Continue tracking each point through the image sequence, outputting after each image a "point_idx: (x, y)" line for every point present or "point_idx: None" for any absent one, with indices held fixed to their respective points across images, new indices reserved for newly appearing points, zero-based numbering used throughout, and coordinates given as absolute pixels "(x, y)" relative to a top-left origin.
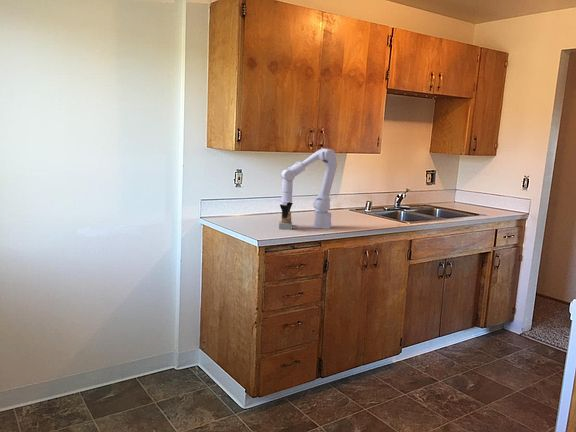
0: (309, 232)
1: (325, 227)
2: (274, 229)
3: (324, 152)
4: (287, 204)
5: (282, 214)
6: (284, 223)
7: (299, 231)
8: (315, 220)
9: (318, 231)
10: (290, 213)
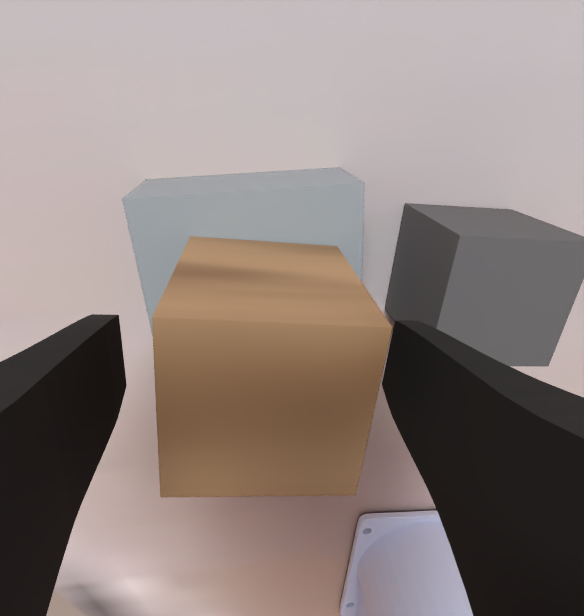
0: (128, 511)
1: (360, 596)
2: (121, 106)
3: None
4: (549, 601)
5: (42, 340)
6: (158, 290)
7: (135, 429)
8: (412, 595)
9: (214, 560)
10: (252, 482)
